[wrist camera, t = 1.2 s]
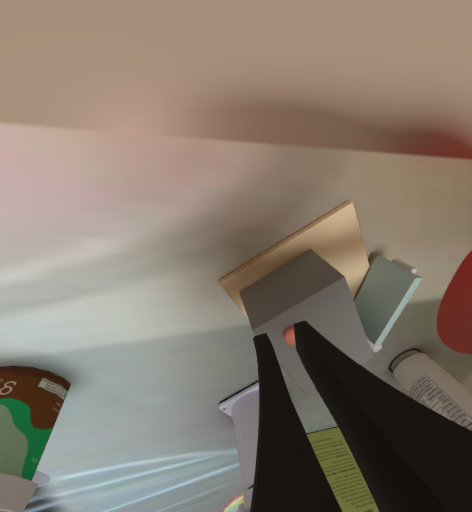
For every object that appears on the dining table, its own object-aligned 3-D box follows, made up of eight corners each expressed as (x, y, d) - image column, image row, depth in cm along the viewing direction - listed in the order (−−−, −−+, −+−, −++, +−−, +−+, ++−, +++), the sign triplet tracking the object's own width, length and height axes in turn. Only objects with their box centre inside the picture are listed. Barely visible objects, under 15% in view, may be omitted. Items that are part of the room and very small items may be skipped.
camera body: (345, 327, 26) (381, 368, 21) (289, 359, 27) (312, 405, 22) (311, 248, 20) (351, 280, 15) (238, 291, 20) (254, 336, 16)
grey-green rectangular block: (353, 321, 26) (383, 351, 22) (343, 321, 25) (371, 352, 21) (388, 254, 22) (431, 276, 18) (377, 253, 21) (418, 275, 18)
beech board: (381, 321, 28) (384, 324, 28) (291, 371, 29) (292, 375, 29) (348, 200, 19) (352, 202, 19) (218, 280, 20) (219, 283, 20)
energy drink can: (409, 371, 36) (534, 497, 23) (381, 374, 35) (499, 510, 22) (428, 347, 34) (581, 472, 21) (399, 348, 32) (544, 485, 19)
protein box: (266, 442, 37) (310, 607, 24) (341, 424, 41) (418, 562, 27) (260, 468, 42) (294, 620, 28) (328, 451, 45) (388, 580, 32)
